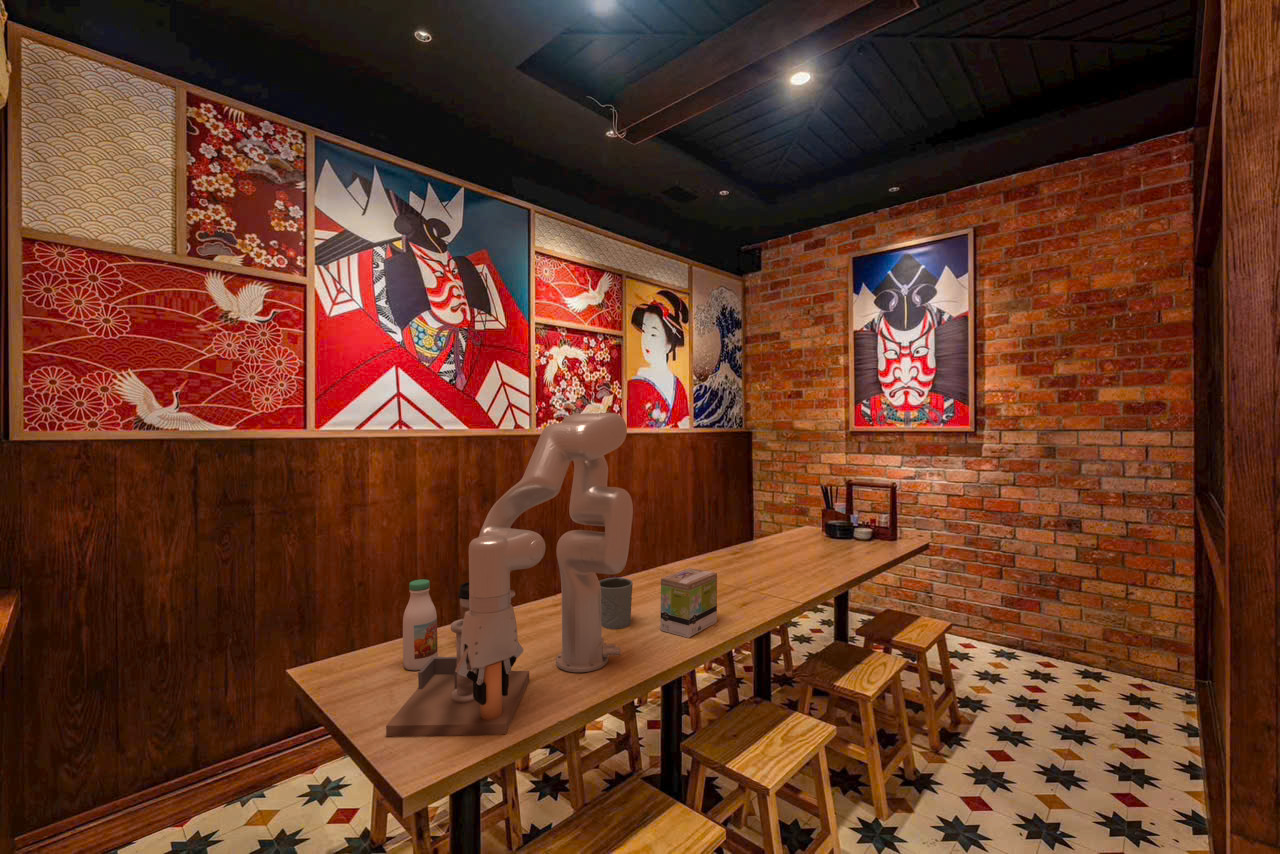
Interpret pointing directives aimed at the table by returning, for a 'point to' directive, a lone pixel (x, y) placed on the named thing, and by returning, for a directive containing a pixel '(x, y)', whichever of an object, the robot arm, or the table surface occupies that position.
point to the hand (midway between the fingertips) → (491, 696)
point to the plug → (492, 692)
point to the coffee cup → (464, 598)
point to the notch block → (437, 669)
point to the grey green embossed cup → (616, 602)
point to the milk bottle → (419, 627)
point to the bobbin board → (454, 705)
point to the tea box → (688, 602)
